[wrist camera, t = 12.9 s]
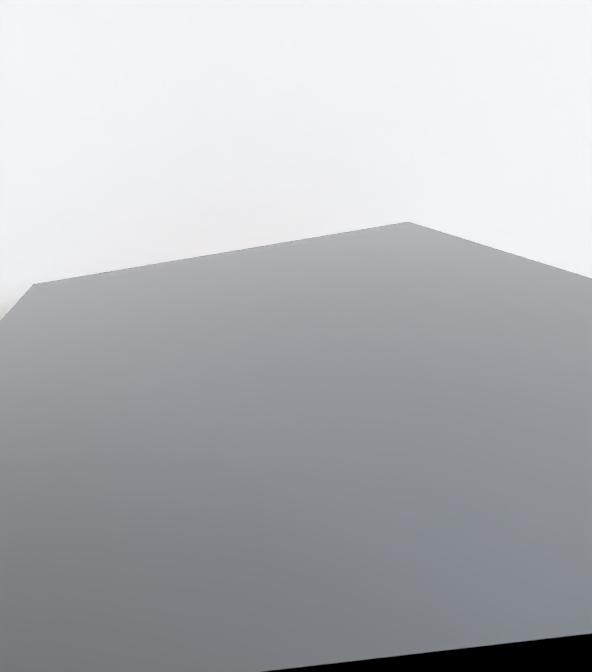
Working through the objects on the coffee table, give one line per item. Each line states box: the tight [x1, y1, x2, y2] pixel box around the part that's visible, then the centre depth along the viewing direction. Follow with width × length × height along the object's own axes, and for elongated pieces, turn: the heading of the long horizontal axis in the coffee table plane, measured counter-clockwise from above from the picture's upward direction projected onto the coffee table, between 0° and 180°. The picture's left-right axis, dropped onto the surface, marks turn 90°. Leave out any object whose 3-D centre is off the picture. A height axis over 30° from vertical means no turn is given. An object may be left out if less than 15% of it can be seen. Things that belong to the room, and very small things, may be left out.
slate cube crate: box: [0, 222, 592, 672], centre depth 7 cm, size 8×8×9 cm
